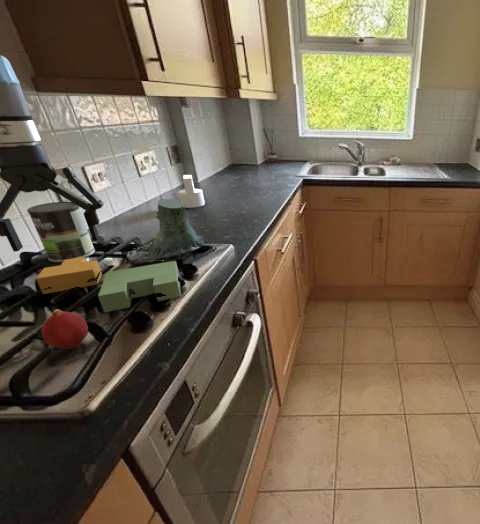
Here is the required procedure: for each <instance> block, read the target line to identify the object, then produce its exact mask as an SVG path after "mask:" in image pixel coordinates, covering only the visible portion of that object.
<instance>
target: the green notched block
mask: <svg viewBox="0 0 480 524" xmlns="http://www.w3.org/2000/svg"><path fill="white" fill-rule="evenodd" d="M178 276H179V277H180V271H179V268H178V264H177V260H175V261H170V262H165V263H156V264H146V265H140V266H136V267H130V268H124V269H118V270H111V271H106V273H105V276H104V279H103V282H102V284H101V287H100V289H99V292H98V294H97V298H98V300H99V302H100V305H101V308H102V310H103V313H108V312H113V311H118V310H122V309H123V310H124V309H129V308H131V306H132V299H135V298H141V297H146V296H151V295H156V293H162V294H165V295H167V296H162V297H156V301H157V302H162V301H166V300H171V299H176V298H180V297H181V296H182V293H181V281H180V282H179V281H178ZM129 289H132V290H133V291H134V292H135V293H136V294H131V295H130V297H129ZM154 293H155V294H154Z"/></svg>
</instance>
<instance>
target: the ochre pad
mask: <svg viewBox="0 0 480 524" xmlns="http://www.w3.org/2000/svg"><path fill="white" fill-rule="evenodd" d="M100 271H101V272H100ZM99 272H100V274H99V277H98V279H97V281H93V282H87V281H88V280H89V279H91V278H96V277H97V275H98V273H99ZM102 275H103V273H102V270H101V267H100V264H99V261H98V259H94V260H88V261H87V260H86V257H81V258H74V259H67V260H64V261H63V262H61V264H59V265H53V266H47V267H43V269H42V270H41V271H40V272H39V274H38V275H37V276H36V278H35V280H36V282H37V284H38V287H39V289H40V291H41V293H42V295H46V294H53V293H57V292H63V291H69V289H70V288H74V287H80V288H86V287H93V286H97V285H99V284H100V281H101V278H102ZM86 282H87V283H86ZM48 287H51V288H52V289H47V290H41V289H44V288H48ZM70 290H71V289H70Z"/></svg>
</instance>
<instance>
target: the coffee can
mask: <svg viewBox="0 0 480 524" xmlns="http://www.w3.org/2000/svg"><path fill="white" fill-rule="evenodd" d="M26 212H27V213H28V214H29V217H30V219H31V221H32V224H33V226H34V228H35V230H36V232H37V235H38V238H39V240H40V242H41V244H42V246H43V247H42V248H43V249H44V251H45V252H44V253H45V254H46V256H47V260H48V261H49V262H51V263H62V262H63V261H64V260H67V259H74V258H81V257H85V258H87V257H89V256H92V255H93V254H94V253H95V252H96V249H95V247H94V245H93V241H92V239H91V235H90V232H89V229H88V227H87V224H86V221H85V218H84V215H83V213H82V211H81V207H79V206H78V205H76V204H74V203H73V202H71V201H55V202H54V201H53V202H47V203H41V204H36V205H33V206H30V207H28V208H27V209H26Z"/></svg>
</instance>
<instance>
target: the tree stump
mask: <svg viewBox="0 0 480 524" xmlns="http://www.w3.org/2000/svg"><path fill="white" fill-rule="evenodd" d="M156 204H157V211H156V214H157V216H156V217H155V219H158V222H159V231H158V232H157V233H156V234H155V237H154V240H153V241H152V242H151V243H149V244H146V245H142V246H138V247H137V248H134V247H133V250H131V251H129V253H128V254H127V255H126V258H127V260H128V261H129V262H131V263H133V264H134V265H142V266H147V265H153V264H159V263H165V262H171V261H179V260H184V259H185V258H187V257H188V256H190V255H191V254H193V252H195V251H197V250H198V249H200V248H202V247H203V246H204V244H205V241H204V237H203V236H199V235H197V233H196V231H195V230H194V229H193V227H192V226H191V225H190V222H189V215H188V214H187V209H186V208H184V206H183V204H182V203H181V201H180V200H176V199H170V198H163V199H159V200H158V201H157V203H156ZM146 253H151V256H154V257H155V256H156V258H157V259H154V260H164V261H153V262H142V263H139V262H137V261H134V260H137V258H139V257H140V256H142V255H143V254H146ZM175 256H177V257H180V258H178V259H169V258H171V257H175ZM147 258H148V257H144V258H143V259H147ZM137 263H138V264H137Z"/></svg>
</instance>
